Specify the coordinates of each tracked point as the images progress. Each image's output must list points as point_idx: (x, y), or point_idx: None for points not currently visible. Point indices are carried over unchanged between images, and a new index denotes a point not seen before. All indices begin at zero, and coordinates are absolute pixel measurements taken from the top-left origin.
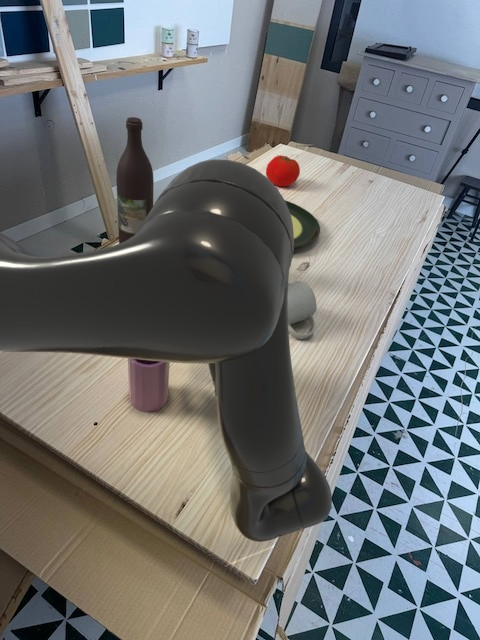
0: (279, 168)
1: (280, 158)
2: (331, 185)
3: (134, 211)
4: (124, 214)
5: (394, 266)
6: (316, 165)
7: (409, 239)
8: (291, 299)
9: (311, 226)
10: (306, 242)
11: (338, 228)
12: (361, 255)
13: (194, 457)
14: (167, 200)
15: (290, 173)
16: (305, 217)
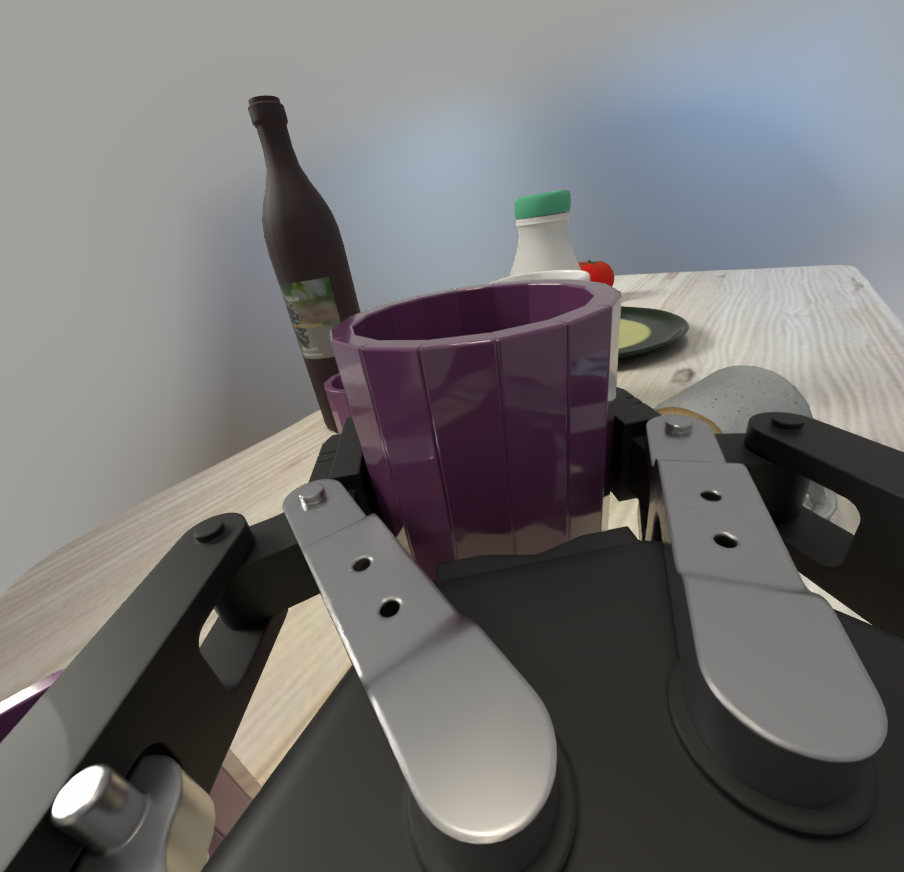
0: None
1: (581, 264)
2: (664, 289)
3: (311, 307)
4: (297, 321)
5: (887, 342)
6: (630, 281)
7: (866, 307)
8: (736, 410)
9: (664, 323)
10: (669, 339)
11: (712, 321)
12: (792, 341)
13: None
14: None
15: (601, 277)
16: (647, 316)
